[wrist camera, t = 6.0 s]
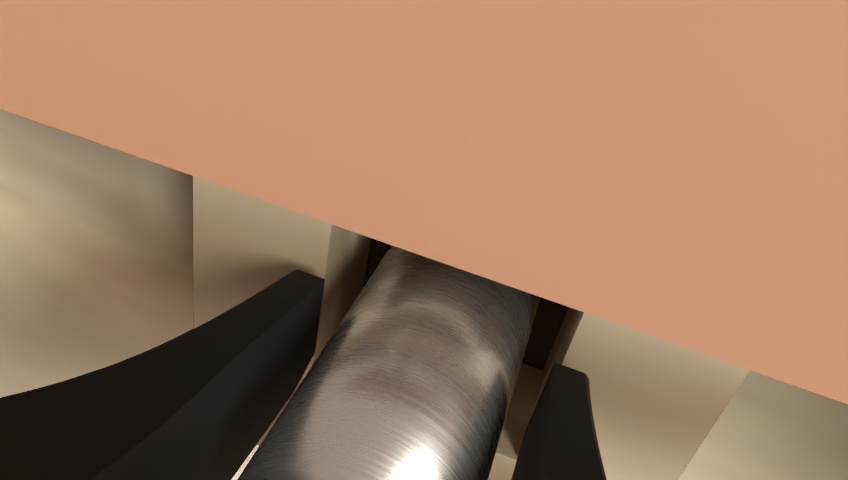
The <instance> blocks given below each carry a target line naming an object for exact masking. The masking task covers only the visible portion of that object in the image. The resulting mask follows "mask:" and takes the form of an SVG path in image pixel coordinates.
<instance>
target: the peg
mask: <svg viewBox="0 0 848 480" xmlns="http://www.w3.org/2000/svg"><path fill="white" fill-rule="evenodd" d="M540 299H541V297H539V296H536V295H533V294H530V293H527V292H524V291H521V290H519V289H516V288H513V287H510V286H507V285H504V284H501V283H498V282H496V281H493V280H490V279H487V278H484V277H481V276H478V275H476V274H473V273H470V272H467V271H464V270H461V269H458V268H455V267H453V266H450V265H447V264H444V263H441V262H438V261H435V260H433V259H430V258H427V257H424V256H421V255H418V254H415V253H412V252H410V251H407V250H404V249H401V248H398V247H395V246H392V245H391V246H390V248H389V250H388V251H387V253H386V254H385V256H384V257H383V259H382V260H381V262H380V263H379V265H378V266H377V268H376V269H375V271H374V272H373V274H372V275H371V277H370V278H369V280H368V282H367V283H366V285H365V286H364V288H363V289H362V291H361V292H360V294H359V295H358V297H357V298H356V300H355V301H354V303H353V304H352V306H351V307H350V309H349V310H348V312H347V314H346V315H345V317H344V318H343V320H342V321H341V323H340V324H339V326H338V327H337V329H336V330H335V332H334V333H333V335H332V336H331V338H330V339H329V341H328V342H327V344H326V346H325V347H324V349H323V350H322V352H321V353H320V355H319V356H318V358H317V359H316V361H315V362H314V364H313V365H312V367H311V368H310V370H309V371H308V373H307V374H306V376H305V378H304V379H303V381H302V382H301V384H300V385H299V387H298V388H297V390H296V391H295V393H294V394H293V396H292V397H291V399H290V400H289V402H288V403H287V405H286V406H285V408H284V410H283V411H282V413H281V414H280V416H279V417H278V419H277V420H276V422H275V423H274V425H273V426H272V428H271V429H270V431H269V432H268V434H267V435H266V437H265V438H264V440H263V442H262V443H261V445H260V446H259V448H258V449H257V451H256V452H255V454H254V455H253V457H252V458H251V460H250V461H249V463H248V464H247V466H246V467H245V469H244V470H243V472H242V474H241V475H240V477H239V478H238V480H488V477H489V474H490V470H491V467H492V463H493V460H494V457H495V453H496V450H497V446H498V443H499V439H500V436H501V433H502V429H503V426H504V422H505V419H506V415H507V412H508V409H509V405H510V402H511V398H512V395H513V391H514V388H515V385H516V381H517V378H518V374H519V371H520V367H521V364H522V361H523V357H524V354H525V350H526V347H527V343H528V340H529V337H530V333H531V330H532V326H533V323H534V319H535V316H536V313H537V309H538V306H539V302H540Z"/></svg>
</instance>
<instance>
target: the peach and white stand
mask: <svg viewBox="0 0 848 480" xmlns="http://www.w3.org/2000/svg"><path fill="white" fill-rule="evenodd" d="M0 109H2V110H5V111H8V112H11V113H14V114H17V115H20V116H23V117H25V118H28V119H31V120H34V121H37V122H40V123H43V124H45V125H48V126H51V127H54V128H57V129H60V130H63V131H66V132H68V133H71V134H74V135H77V136H80V137H83V138H86V139H88V140H91V141H94V142H97V143H100V144H103V145H106V146H109V147H111V148H114V149H117V150H120V151H123V152H126V153H129V154H131V155H134V156H137V157H140V158H143V159H146V160H149V161H152V162H154V163H157V164H160V165H163V166H166V167H169V168H172V169H174V170H177V171H180V172H183V173H186V174H189V175H192V176H195V177H197V178H200V179H203V180H206V181H209V182H212V183H215V184H217V185H220V186H223V187H226V188H229V189H232V190H235V191H238V192H240V193H243V194H246V195H249V196H252V197H255V198H258V199H261V200H263V201H266V202H269V203H272V204H275V205H278V206H281V207H283V208H286V209H289V210H292V211H295V212H298V213H301V214H304V215H306V216H309V217H312V218H315V219H318V220H321V221H324V222H326V223H329V224H332V225H335V226H338V227H341V228H344V229H347V230H349V231H352V232H355V233H358V234H361V235H364V236H367V237H369V238H372V239H375V240H378V241H381V242H384V243H387V244H390V245H392V246H395V247H398V248H401V249H404V250H407V251H410V252H412V253H415V254H418V255H421V256H424V257H427V258H430V259H433V260H435V261H438V262H441V263H444V264H447V265H450V266H453V267H455V268H458V269H461V270H464V271H467V272H470V273H473V274H476V275H478V276H481V277H484V278H487V279H490V280H493V281H496V282H498V283H501V284H504V285H507V286H510V287H513V288H516V289H519V290H521V291H524V292H527V293H530V294H533V295H536V296H539V297H541V298H544V299H547V300H550V301H553V302H556V303H559V304H562V305H564V306H567V307H570V308H573V309H576V310H579V311H582V312H585V313H587V314H590V315H593V316H596V317H599V318H602V319H605V320H607V321H610V322H613V323H616V324H619V325H622V326H625V327H628V328H630V329H633V330H636V331H639V332H642V333H645V334H648V335H650V336H653V337H656V338H659V339H662V340H665V341H668V342H671V343H673V344H676V345H679V346H682V347H685V348H688V349H691V350H693V351H696V352H699V353H702V354H705V355H708V356H711V357H714V358H716V359H719V360H722V361H725V362H728V363H731V364H734V365H736V366H739V367H742V368H745V369H748V370H751V371H754V372H757V373H759V374H762V375H765V376H768V377H771V378H774V379H777V380H779V381H782V382H785V383H788V384H791V385H794V386H797V387H800V388H802V389H805V390H808V391H811V392H814V393H817V394H820V395H822V396H825V397H828V398H831V399H834V400H837V401H840V402H843V403H845V404H848V0H0Z"/></svg>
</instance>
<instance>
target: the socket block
mask: <svg viewBox="0 0 848 480" xmlns="http://www.w3.org/2000/svg"><path fill="white" fill-rule="evenodd" d="M370 244H371V238H369V237H367V236H364V235H361V234H358V233H355V232H352V231H349V230H347V229H344V228H341V227H338V226H335V225H332V224H329V223H326V222H324V221H321V220H318V219H315V218H312V217H309V216H306V215H304V214H301V213H298V212H295V211H292V210H289V209H286V208H283V207H281V206H278V205H275V204H272V203H269V202H266V201H263V200H261V199H258V198H255V197H252V196H249V195H246V194H243V193H240V192H238V191H235V190H232V189H229V188H226V187H223V186H220V185H217V184H215V183H212V182H209V181H206V180H203V179H200V178H197V177H195V176H193V303H194V328H196V327H198V326H200V325H202V324H204V323H206V322H208V321H210V320H211V319H213V318H215V317H217V316H219V315H220V314H222V313H224V312H226V311H227V310H229V309H231V308H233V307H234V306H236V305H238V304H240V303H241V302H243V301H245V300H246V299H248V298H250V297H251V296H253V295H255V294H256V293H258V292H260V291H261V290H263V289H265V288H266V287H268V286H270V285H271V284H273V283H274V282H276V281H278V280H279V279H281V278H282V277H284V276H286V275H287V274H289V273H290V272H292V271H294V270H297V269H298V270H301V271H304V272H307V273H309V274H312V275H315V276H318V277H320V278H323V279H325V284H324V291H323V298H322V306H321V313H320V320H319V328H318V335H317V342H316V349H315V353H314V355H313V357H312V359H311V361H310V363H309V365H308V367H307V368H306V370H305V372H304V374H303V376H302V378H301V380H300V381H299V383H298V385H297V387H296V388H295V390H294V392H293V394H294V393H295V391H296V390H297V388H298V387H299V385H300V384H301V382H302V381H303V379H304V378H305V376H306V374H307V373H308V371H309V370H310V368H311V367H312V365H313V364H314V362H315V361H316V359H317V358H318V356H319V355H320V353H321V352H322V350H323V349H324V347H325V346H326V344H327V342H328V341H329V339H330V338H331V336H332V335H333V333H334V332H335V330H336V329H337V327H338V326H339V324H340V323H341V321H342V320H343V318H344V317H345V315H346V314H347V312H348V310H349V309H350V307H351V306H352V304H353V303H354V301H355V300H356V298H357V297H358V295H359V294H360V292H361V291H362V289H363V283H364V277H365V272H366V266H367V261H368V255H369V249H370ZM554 362H555V363H558V364H561V365H564V366H566V367H569V368H572V369H575V370H577V371H580V372H583V373H586V375H587V377H588V379H589V386H590V397H591V405H592V412H593V419H594V424H595V430H596V435H597V440H598V445H599V450H600V454H601V458H602V462H603V467H604V471H605V475H606V479H607V480H678V479H679V477H680V476H681V474H682V473H683V471H684V470H685V468H686V467H687V465H688V464H689V462H690V461H691V459H692V457H693V456H694V454H695V453H696V451H697V450H698V448H699V447H700V445H701V444H702V442H703V441H704V439H705V438H706V436H707V435H708V433H709V432H710V430H711V429H712V427H713V426H714V424H715V423H716V421H717V419H718V418H719V416H720V415H721V413H722V412H723V410H724V409H725V407H726V406H727V404H728V403H729V401H730V400H731V398H732V397H733V395H734V394H735V392H736V391H737V389H738V388H739V386H740V384H741V383H742V381H743V380H744V378H745V377H746V375H747V374H748V372H749V371H750V370H748V369H745V368H742V367H739V366H736V365H734V364H731V363H728V362H725V361H722V360H719V359H716V358H714V357H711V356H708V355H705V354H702V353H699V352H696V351H693V350H691V349H688V348H685V347H682V346H679V345H676V344H673V343H671V342H668V341H665V340H662V339H659V338H656V337H653V336H650V335H648V334H645V333H642V332H639V331H636V330H633V329H630V328H628V327H625V326H622V325H619V324H616V323H613V322H610V321H607V320H605V319H602V318H599V317H596V316H593V315H590V314H587V313H585V312H582V311H579V310H576V309H573V308H570V307H568V310H567V312H566V315H565V317H564V320H563V322H562V324H561V327H560V329H559V332H558V334H557V337H556V339H555V342H554V344H553V346H552V349H551V351H550V354H549V356H548V359H547V361H546V363H545V366H544V368H543V370H540V369H537V368H534V367H532V366H529V365H526V364H523V363H522V364H521V367H520V371H519V374H518V378H517V381H516V385H515V388H514V391H513V395H512V398H511V402H510V405H509V409H508V412H507V415H506V419H505V422H504V426H503V429H502V433H501V436H500V439H499V443H498V446H497V450H496V453H495V457H494V460H493V463H492V467H491V470H490V474H489V477H488V480H511V479H512V475H513V472H514V468H515V465H516V461H517V458H518V454H519V451H520V447H521V444H522V440H523V437H524V433H525V430H526V428H527V426H528V423H529V421H530V419H531V416H532V414H533V411H534V409H535V407H536V404H537V402H538V400H539V397H540V395H541V392H542V390H543V388H544V385H545V383H546V381H547V378H548V376H549V373H550V371H551V369H552V366H553V364H554ZM293 394H292V395H291V397H292V396H293ZM291 397H290V398H289V400H290V399H291ZM289 400H288V401H287V402H286V404H285V405H284V407H283V408H282V409H281V411H280V412H279V414H278V415H277V416H276V418H275V419H274V421H273V422H272V423H271V425H270V426H269V428H268V429H267V430H266V432H265V433H264V435H263V436H262V437H261V439H260V440H259V441H258V443H257V445H261V443H262V442H263V440H264V438H265V437H266V435H267V434H268V432H269V431H270V429H271V428H272V426H273V425H274V423H275V422H276V420H277V419H278V417H279V416H280V414H281V413H282V411H283V410H284V408H285V406H286V405H287V403H288V402H289Z"/></svg>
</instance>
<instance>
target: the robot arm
mask: <svg viewBox="0 0 848 480" xmlns="http://www.w3.org/2000/svg"><path fill="white" fill-rule="evenodd" d="M324 284H325V279H323V278H320V277H318V276H315V275H312V274H309V273H307V272H304V271H301V270H298V269H297V270H294V271H292V272H290V273H289V274H287V275H286V276H284V277H282V278H281V279H279V280H278V281H276V282H274V283H273V284H271V285H270V286H268V287H266V288H265V289H263V290H261V291H260V292H258V293H256V294H255V295H253V296H251V297H250V298H248V299H246V300H245V301H243V302H241V303H240V304H238V305H236V306H234V307H233V308H231V309H229V310H227V311H226V312H224V313H222V314H220V315H219V316H217V317H215V318H213V319H211V320H210V321H208V322H206V323H204V324H202V325H200V326H198V327H196V328H194V329H192V330H190V331H188V332H186V333H184V334H182V335H180V336H178V337H176V338H174V339H172V340H170V341H168V342H166V343H164V344H162V345H159V346H157V347H155V348H153V349H151V350H148V351H146V352H144V353H141V354H139V355H136V356H134V357H131V358H129V359H127V360H124V361H122V362H119V363H116V364H114V365H111V366H108V367H105V368H102V369H99V370H96V371H93V372H90V373H87V374H84V375H81V376H78V377H75V378H72V379H69V380H66V381H63V382H60V383H56V384H53V385H49V386H45V387H42V388H38V389H34V390H31V391H27V392H22V393H18V394H14V395H10V396H6V397H2V398H0V480H231V479H232V477H233V476H234V475H235V473H236V472H237V471H238V469H239V468H240V466H241V465H242V464H243V462H244V461H245V459H246V458H247V457H248V455H249V454H250V453H251V451H252V450H253V448H254V447H255V446H256V444H257V443H258V441H259V440H260V439H261V437H262V436H263V435H264V433H265V432H266V430H267V429H268V428H269V426H270V425H271V423H272V422H273V421H274V419H275V418H276V416H277V415H278V414H279V412H280V411H281V409H282V408H283V407H284V405H285V404H286V402H287V401H288V400H289V398H290V397H291V395H292V394H293V392H294V390H295V388H296V387H297V385H298V383H299V381H300V380H301V378H302V376H303V374H304V372H305V370H306V368H307V367H308V365H309V363H310V361H311V359H312V357H313V355H314V353H315V349H316V342H317V335H318V328H319V320H320V313H321V306H322V298H323V291H324ZM511 480H607V479H606V475H605V471H604V467H603V462H602V458H601V454H600V450H599V445H598V440H597V435H596V430H595V424H594V419H593V412H592V405H591V397H590V386H589V379H588V377H587V375H586V373H583V372H580V371H577V370H575V369H572V368H569V367H566V366H564V365H561V364H558V363H555V362H554V364H553V366H552V369H551V371H550V373H549V376H548V378H547V381H546V383H545V385H544V388H543V390H542V392H541V395H540V397H539V400H538V402H537V404H536V407H535V409H534V411H533V414H532V416H531V419H530V421H529V423H528V426H527V428H526V430H525V433H524V437H523V440H522V444H521V447H520V451H519V454H518V458H517V461H516V465H515V468H514V472H513V475H512V479H511Z"/></svg>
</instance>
